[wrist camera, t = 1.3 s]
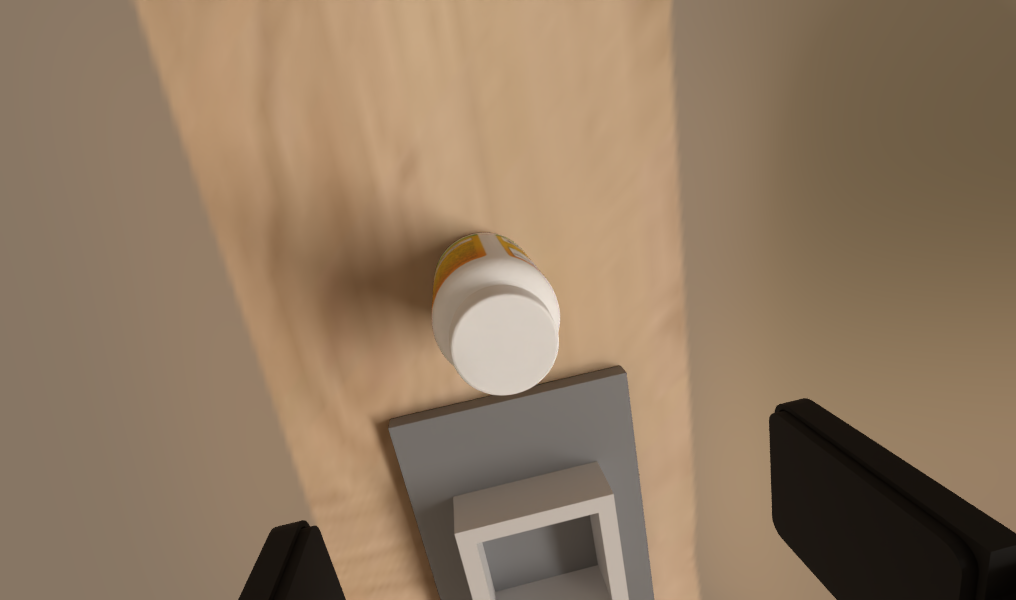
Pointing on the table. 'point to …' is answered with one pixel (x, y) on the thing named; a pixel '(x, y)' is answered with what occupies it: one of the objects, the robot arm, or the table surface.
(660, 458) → the table surface
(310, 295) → the table surface
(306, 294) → the table surface
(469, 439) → the cup holder
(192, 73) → the table surface
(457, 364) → the supplement bottle
